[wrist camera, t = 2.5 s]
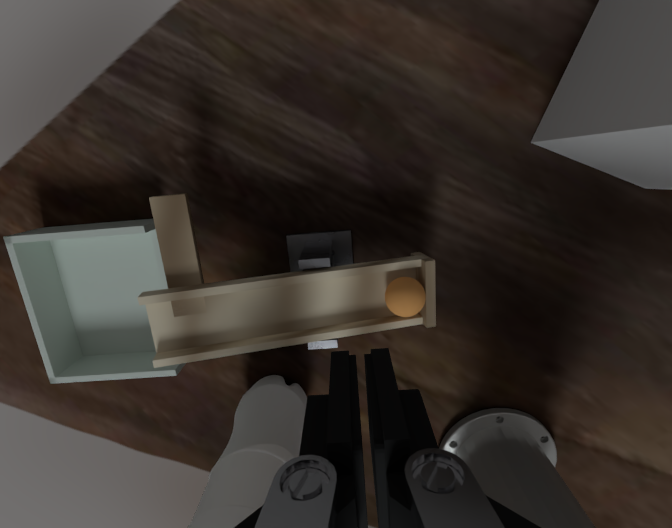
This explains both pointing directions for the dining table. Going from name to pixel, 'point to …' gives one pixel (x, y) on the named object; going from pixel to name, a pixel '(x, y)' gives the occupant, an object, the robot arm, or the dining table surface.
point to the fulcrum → (320, 259)
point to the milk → (618, 95)
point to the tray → (91, 298)
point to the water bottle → (253, 452)
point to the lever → (266, 299)
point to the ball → (405, 296)
